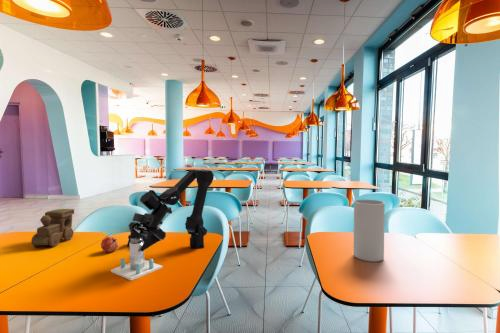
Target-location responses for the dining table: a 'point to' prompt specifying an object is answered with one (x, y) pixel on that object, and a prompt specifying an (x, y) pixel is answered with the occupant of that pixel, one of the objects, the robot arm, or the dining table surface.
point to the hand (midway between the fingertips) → (134, 248)
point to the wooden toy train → (54, 228)
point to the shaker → (136, 253)
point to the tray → (133, 272)
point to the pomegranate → (109, 244)
